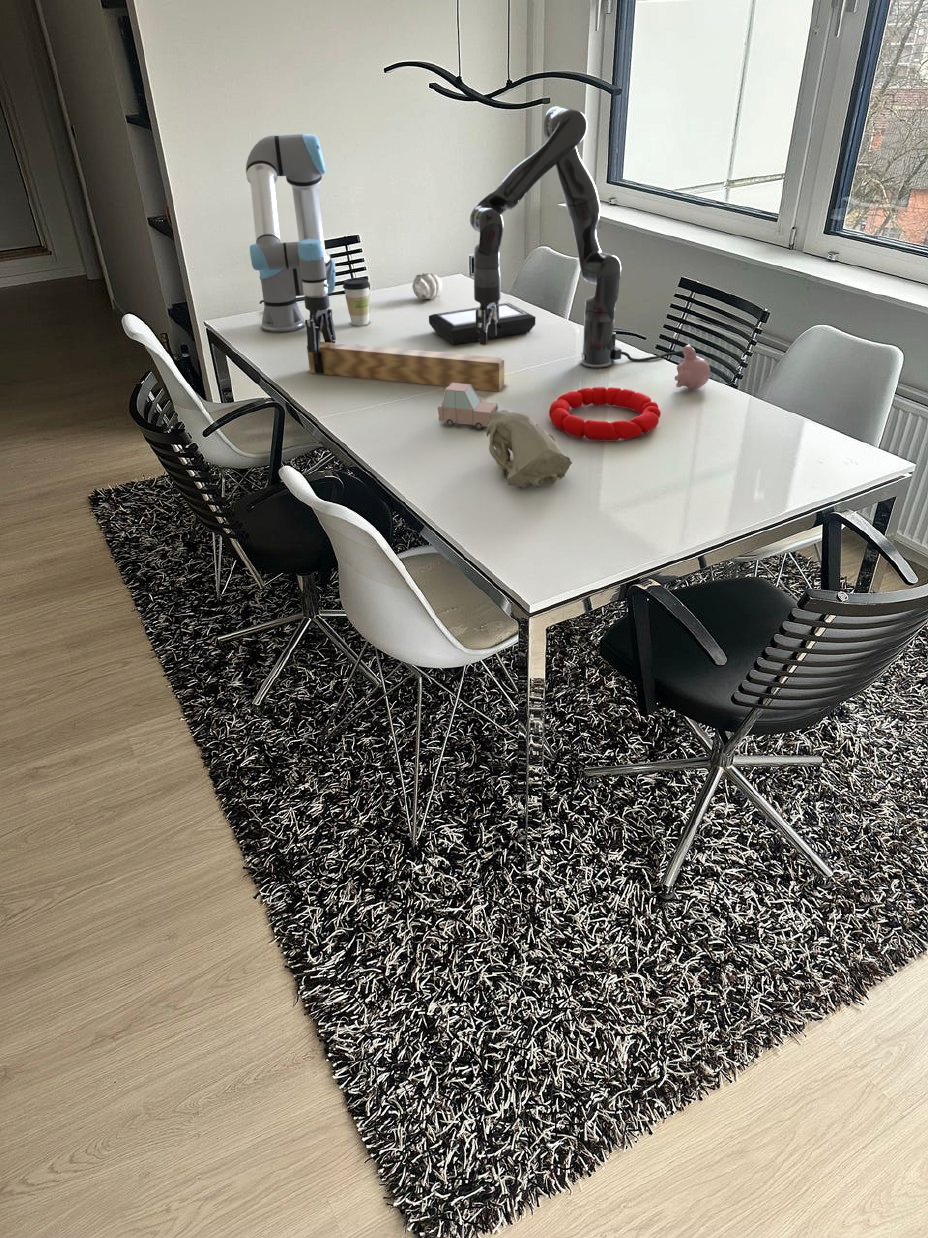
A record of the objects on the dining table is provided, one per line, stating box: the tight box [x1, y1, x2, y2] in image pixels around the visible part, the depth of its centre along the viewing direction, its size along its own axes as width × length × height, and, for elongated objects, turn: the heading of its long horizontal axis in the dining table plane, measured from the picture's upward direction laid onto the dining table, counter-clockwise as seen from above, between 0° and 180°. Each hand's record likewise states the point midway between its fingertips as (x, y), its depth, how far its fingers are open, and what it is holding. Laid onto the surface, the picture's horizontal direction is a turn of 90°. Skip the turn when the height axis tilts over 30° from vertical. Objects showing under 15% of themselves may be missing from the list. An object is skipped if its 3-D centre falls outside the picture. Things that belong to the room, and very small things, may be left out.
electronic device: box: [428, 302, 537, 345], centre depth 312 cm, size 32×6×20 cm
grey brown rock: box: [485, 409, 573, 489], centre depth 216 cm, size 17×25×20 cm
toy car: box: [437, 383, 499, 431], centre depth 243 cm, size 9×15×10 cm, turn 70°
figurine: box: [674, 344, 711, 390], centre depth 259 cm, size 9×11×12 cm
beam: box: [306, 341, 505, 392], centre depth 274 cm, size 64×5×9 cm, turn 70°
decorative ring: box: [548, 386, 661, 442], centre depth 242 cm, size 7×30×30 cm
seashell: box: [411, 272, 443, 300], centre depth 348 cm, size 10×15×10 cm
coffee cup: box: [342, 277, 371, 327], centre depth 323 cm, size 10×10×15 cm
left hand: (325, 368), depth 284 cm, fingers open, 7 cm apart
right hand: (488, 340), depth 261 cm, fingers open, 8 cm apart
